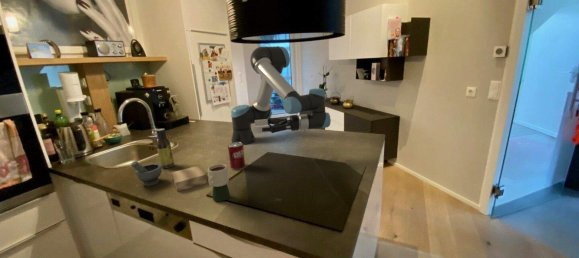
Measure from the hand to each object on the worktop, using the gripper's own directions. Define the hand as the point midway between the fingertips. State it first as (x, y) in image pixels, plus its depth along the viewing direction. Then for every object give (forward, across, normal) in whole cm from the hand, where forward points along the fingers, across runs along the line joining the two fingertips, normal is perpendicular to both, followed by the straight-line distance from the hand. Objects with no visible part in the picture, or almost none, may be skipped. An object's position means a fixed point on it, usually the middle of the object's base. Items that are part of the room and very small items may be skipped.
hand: (254, 126), depth 114 cm
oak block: (+30, -10, -20) cm, 38 cm away
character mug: (+14, -27, -21) cm, 37 cm away
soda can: (+10, +1, -21) cm, 23 cm away
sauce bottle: (+46, +10, -20) cm, 52 cm away
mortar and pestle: (+48, -7, -20) cm, 53 cm away
